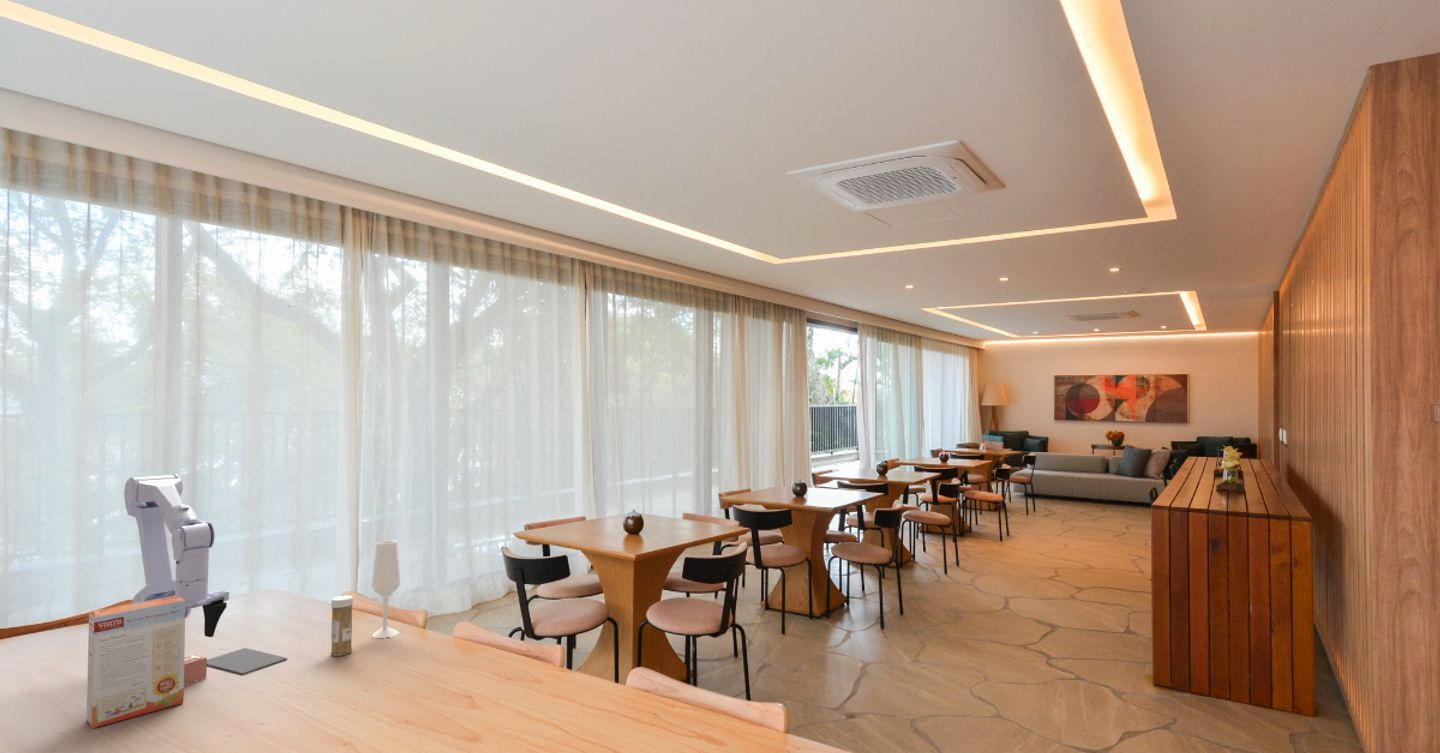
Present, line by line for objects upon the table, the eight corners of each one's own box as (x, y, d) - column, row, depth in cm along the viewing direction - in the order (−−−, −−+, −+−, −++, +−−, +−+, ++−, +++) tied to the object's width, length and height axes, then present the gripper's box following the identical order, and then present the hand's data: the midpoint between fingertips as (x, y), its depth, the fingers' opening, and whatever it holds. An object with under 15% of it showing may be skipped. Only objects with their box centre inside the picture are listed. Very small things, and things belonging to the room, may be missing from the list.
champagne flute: (364, 637, 176) (366, 543, 177) (384, 629, 183) (386, 538, 184) (385, 639, 174) (387, 545, 175) (405, 631, 181) (406, 540, 182)
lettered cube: (171, 682, 148) (171, 660, 148) (194, 674, 152) (194, 653, 152) (183, 685, 146) (183, 663, 146) (206, 678, 150) (206, 656, 151)
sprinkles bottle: (352, 654, 164) (353, 598, 165) (331, 658, 162) (332, 601, 162) (350, 648, 168) (352, 593, 169) (329, 652, 166) (330, 596, 166)
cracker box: (176, 696, 141) (179, 593, 142) (184, 704, 137) (187, 599, 138) (84, 720, 130) (88, 609, 131) (90, 730, 126) (94, 616, 127)
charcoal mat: (199, 663, 158) (200, 661, 159) (244, 649, 168) (245, 647, 168) (242, 674, 152) (242, 673, 152) (287, 659, 161) (287, 657, 161)
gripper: (164, 589, 142) (162, 655, 141) (237, 573, 155) (236, 634, 155) (145, 585, 145) (143, 650, 144) (219, 570, 158) (217, 629, 157)
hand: (190, 641), depth 150 cm, fingers open, 7 cm apart
